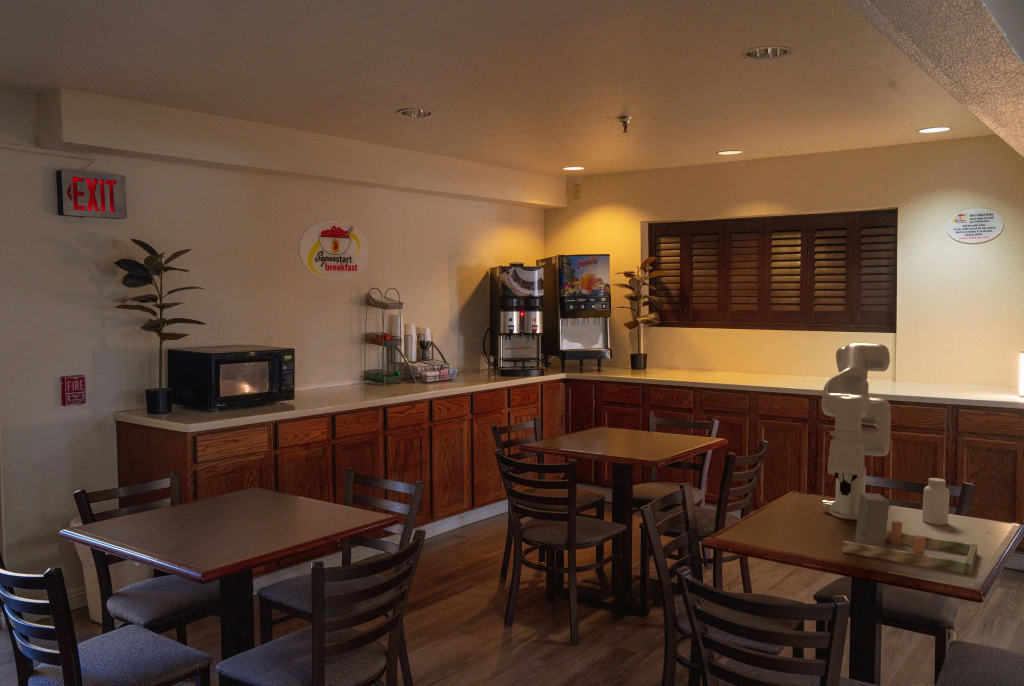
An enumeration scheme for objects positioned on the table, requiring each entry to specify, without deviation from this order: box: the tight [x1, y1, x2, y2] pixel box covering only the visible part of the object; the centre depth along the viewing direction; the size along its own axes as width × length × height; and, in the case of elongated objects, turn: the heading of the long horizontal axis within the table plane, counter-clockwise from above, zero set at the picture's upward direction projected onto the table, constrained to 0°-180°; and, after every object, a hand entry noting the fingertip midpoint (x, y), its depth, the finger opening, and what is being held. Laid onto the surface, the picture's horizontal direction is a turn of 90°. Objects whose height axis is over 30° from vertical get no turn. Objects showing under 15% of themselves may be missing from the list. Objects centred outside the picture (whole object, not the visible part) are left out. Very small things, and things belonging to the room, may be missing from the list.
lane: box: [841, 529, 978, 576], centre depth 241 cm, size 34×23×3 cm
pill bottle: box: [921, 477, 951, 526], centre depth 277 cm, size 8×8×15 cm
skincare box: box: [854, 492, 890, 548], centre depth 246 cm, size 8×7×16 cm
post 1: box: [890, 520, 903, 547], centre depth 249 cm, size 3×3×7 cm
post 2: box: [912, 535, 926, 555], centre depth 232 cm, size 3×3×7 cm
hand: (845, 494), depth 250 cm, fingers closed
